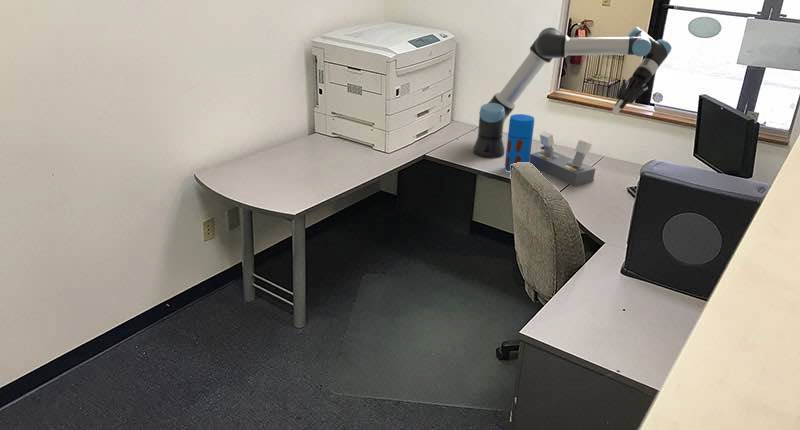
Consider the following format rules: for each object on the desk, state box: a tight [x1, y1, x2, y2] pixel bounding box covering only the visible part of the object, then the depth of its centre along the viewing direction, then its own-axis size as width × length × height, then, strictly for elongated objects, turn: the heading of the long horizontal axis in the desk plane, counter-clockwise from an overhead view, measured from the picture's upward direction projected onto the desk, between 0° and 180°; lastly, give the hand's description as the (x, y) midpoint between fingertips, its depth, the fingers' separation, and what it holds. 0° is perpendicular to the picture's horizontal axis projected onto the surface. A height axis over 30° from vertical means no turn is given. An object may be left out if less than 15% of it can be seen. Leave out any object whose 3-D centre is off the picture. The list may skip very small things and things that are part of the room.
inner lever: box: [539, 130, 555, 157], centre depth 284 cm, size 5×3×11 cm, turn 34°
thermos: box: [504, 113, 535, 171], centre depth 281 cm, size 11×11×25 cm
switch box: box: [529, 149, 596, 187], centre depth 283 cm, size 28×12×7 cm, turn 34°
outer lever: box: [572, 139, 593, 167], centre depth 275 cm, size 5×3×11 cm, turn 34°
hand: (614, 113), depth 277 cm, fingers closed
